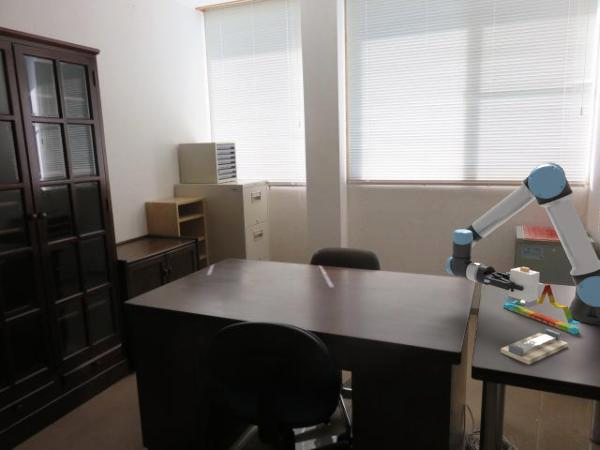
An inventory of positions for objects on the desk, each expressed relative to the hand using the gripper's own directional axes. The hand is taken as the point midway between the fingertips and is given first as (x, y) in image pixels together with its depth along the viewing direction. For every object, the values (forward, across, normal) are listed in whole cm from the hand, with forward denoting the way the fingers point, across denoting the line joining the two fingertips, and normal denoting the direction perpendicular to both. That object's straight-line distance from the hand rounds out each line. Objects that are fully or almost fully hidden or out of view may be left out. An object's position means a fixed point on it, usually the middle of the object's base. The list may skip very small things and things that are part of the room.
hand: (537, 289), depth 159 cm
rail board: (+6, +9, -18) cm, 21 cm away
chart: (-9, -17, -18) cm, 26 cm away
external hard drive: (-25, -31, -19) cm, 44 cm away
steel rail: (+6, +9, -16) cm, 20 cm away
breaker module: (-5, 0, -7) cm, 8 cm away
